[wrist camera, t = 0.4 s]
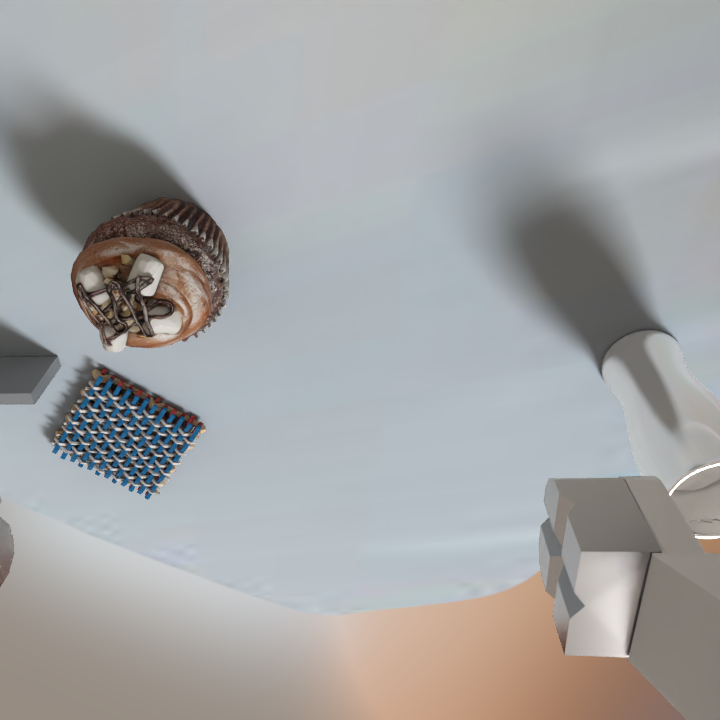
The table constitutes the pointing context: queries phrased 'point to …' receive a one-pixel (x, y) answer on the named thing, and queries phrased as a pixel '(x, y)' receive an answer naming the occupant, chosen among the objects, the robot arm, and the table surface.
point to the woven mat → (126, 434)
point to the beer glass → (669, 423)
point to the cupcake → (153, 275)
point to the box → (25, 377)
